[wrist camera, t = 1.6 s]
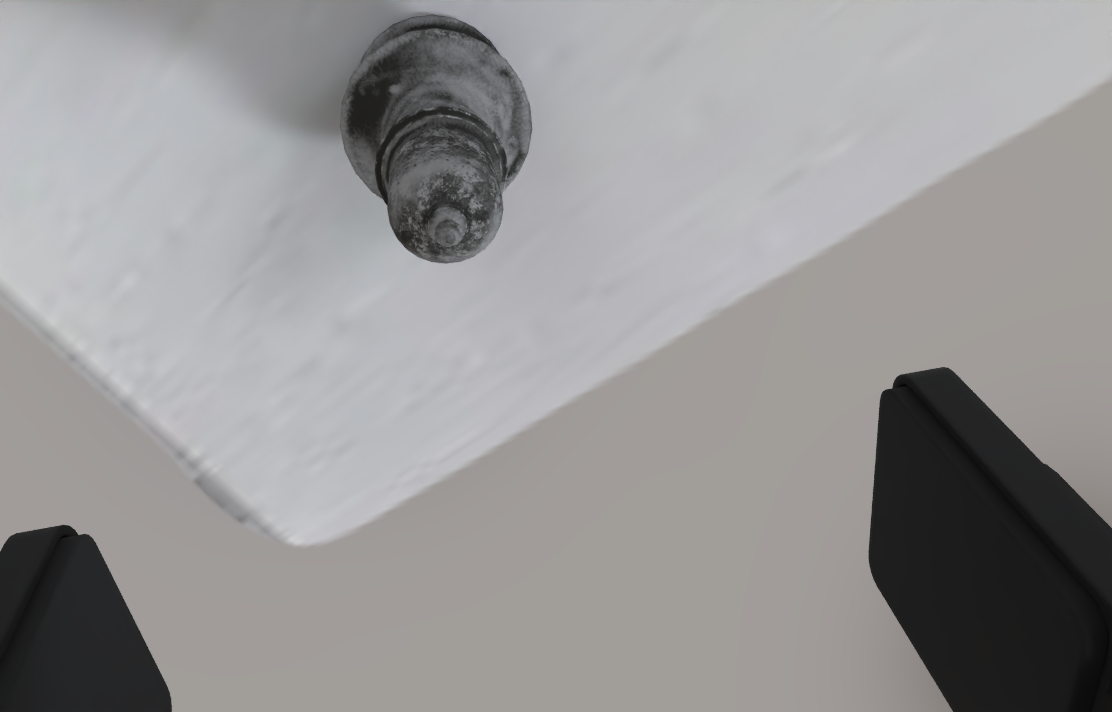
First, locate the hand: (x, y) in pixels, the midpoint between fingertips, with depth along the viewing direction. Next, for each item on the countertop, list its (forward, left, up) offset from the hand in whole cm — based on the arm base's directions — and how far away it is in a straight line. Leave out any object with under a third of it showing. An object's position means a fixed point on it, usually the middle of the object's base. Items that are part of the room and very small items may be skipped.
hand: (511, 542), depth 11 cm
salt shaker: (+1, 0, -24) cm, 24 cm away
